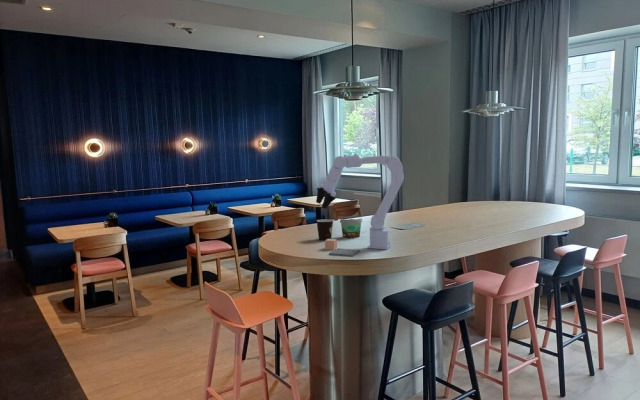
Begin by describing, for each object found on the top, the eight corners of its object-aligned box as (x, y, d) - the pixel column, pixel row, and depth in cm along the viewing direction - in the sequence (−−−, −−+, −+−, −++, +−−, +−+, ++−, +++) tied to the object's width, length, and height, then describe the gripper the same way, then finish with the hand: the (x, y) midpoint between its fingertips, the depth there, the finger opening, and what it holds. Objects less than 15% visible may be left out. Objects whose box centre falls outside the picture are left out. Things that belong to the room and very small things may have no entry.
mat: (359, 251, 215) (359, 249, 215) (352, 256, 205) (352, 254, 205) (336, 249, 219) (336, 248, 219) (328, 254, 209) (328, 253, 209)
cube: (336, 248, 223) (336, 239, 223) (333, 250, 219) (333, 241, 219) (328, 247, 225) (328, 238, 224) (325, 249, 221) (324, 240, 220)
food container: (342, 239, 246) (342, 220, 245) (339, 237, 252) (339, 218, 251) (365, 237, 248) (365, 219, 247) (361, 235, 254) (361, 217, 253)
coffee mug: (323, 241, 239) (323, 222, 238) (313, 239, 246) (313, 220, 245) (341, 239, 246) (341, 220, 245) (331, 236, 253) (330, 218, 252)
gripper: (319, 173, 228) (308, 198, 230) (331, 181, 215) (319, 208, 217) (331, 177, 231) (320, 202, 233) (343, 186, 219) (332, 212, 221)
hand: (320, 205), depth 226 cm, fingers open, 7 cm apart
